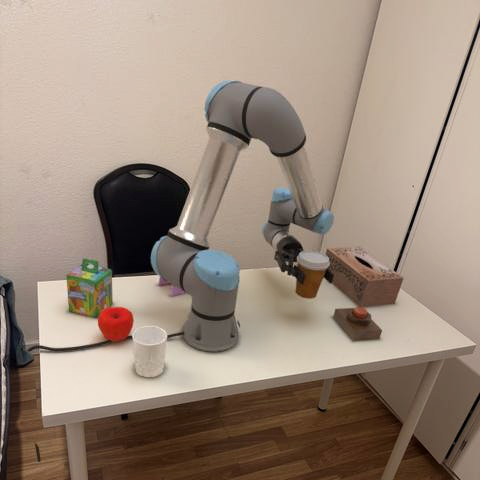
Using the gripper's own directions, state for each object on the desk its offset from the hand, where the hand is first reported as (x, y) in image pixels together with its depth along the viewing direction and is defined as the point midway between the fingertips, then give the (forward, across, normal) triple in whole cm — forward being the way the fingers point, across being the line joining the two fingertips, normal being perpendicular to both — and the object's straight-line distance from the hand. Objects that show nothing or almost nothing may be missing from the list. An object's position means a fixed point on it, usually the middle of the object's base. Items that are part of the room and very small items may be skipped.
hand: (317, 279), depth 123 cm
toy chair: (-27, +36, -16) cm, 48 cm away
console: (+3, -15, -16) cm, 22 cm away
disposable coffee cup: (-5, 0, -7) cm, 9 cm away
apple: (-1, +55, -16) cm, 57 cm away
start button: (+3, -15, -11) cm, 19 cm away
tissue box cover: (-22, -30, -16) cm, 40 cm away
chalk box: (-17, +61, -16) cm, 65 cm away
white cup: (+13, +48, -16) cm, 53 cm away
